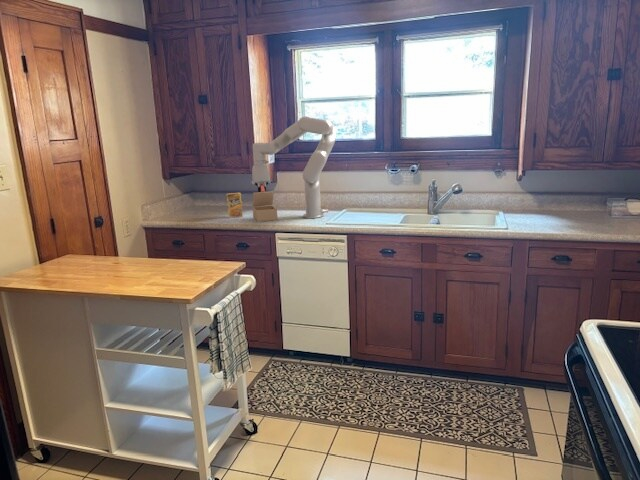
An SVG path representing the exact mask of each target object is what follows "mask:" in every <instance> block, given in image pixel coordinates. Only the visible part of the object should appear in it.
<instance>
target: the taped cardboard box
mask: <svg viewBox="0 0 640 480" xmlns="http://www.w3.org/2000/svg"><path fill="white" fill-rule="evenodd" d="M260 187H261V192H258V191H257V192H253V197H252V208H253V207H263V206H274V205H273V203H274V191H273V190H271V191H266V192H265V189H264V184H263V183H260Z"/></svg>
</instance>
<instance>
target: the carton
mask: <svg viewBox="0 0 640 480" xmlns="http://www.w3.org/2000/svg"><path fill="white" fill-rule="evenodd" d="M252 217H253V219H254V221H255V222H256V223H261V221H262V222H269V220H272V221H278V210H277V208H276V206H274V205H267V206H256V207H253V206H252Z"/></svg>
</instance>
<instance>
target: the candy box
mask: <svg viewBox="0 0 640 480" xmlns="http://www.w3.org/2000/svg"><path fill="white" fill-rule="evenodd" d="M225 195H226V204H227V205H226V206H227V215H228V218H229V219H231V218H243V217H244V216H243V203H242V193H241V192H231V193H226V194H225Z"/></svg>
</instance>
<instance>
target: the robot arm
mask: <svg viewBox="0 0 640 480" xmlns="http://www.w3.org/2000/svg"><path fill="white" fill-rule="evenodd" d="M307 133H311V134H316V135H317V134H318V135H321V139H320V140H319V142H318V145H317V147H316V149H315V150H314V152H312V154H310V155H311V156H310V157H309V159H308V161H307V163H306V165H305V168H304V169H303V171H302V179H303V180H304V204H305V205H304V207H305V213H303V218H305V219H319V218H322V217H324V216H325V215H324V214H326V213H327V214H328V213H329V209H322V208H321V205H322V204H321V172H322V171H323V169H324V167H325V165H326V163H327V160H328V158H329V155H330V154H331V152H332V149H333V147H334V146H335V143H336V140H337V131H336V128H335V126H334V124H333V123H332V122H331V121H330V120H329V119H320V118H315V117H314V118H313V117H309V116H302V117H300V118H299V120H297V121H296V122H294V123H292V124H291V125H290V126H289V127H287V128H286V129H284V130H283V132H282V133H281V134H280V135H278V136H277V137H276V138H274V139H273V140H272V141H269V142H255V143H253V144H252V155H253V165H252V169H251V171H252V172H251V173H252V180H251V184H252V185H255V186H256V187H257V192H261V187H260V184H261V183H262V184H263V185H264V189H265V192H267V186H268V184H270V183H272V180H271V178H270V171H269V170H270V169H269V167H268V164H269V163H270V162H269V160H267V158H266V157H267V156H273V155H275V154H277V153H278V152H280V151H281V150H282V149H284V148H286V147H287V146H288V145H290V144H292V143H294V142H295V141H297V140H298V139H299V138H301V137H302V136H304V135H306V134H307Z"/></svg>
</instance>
